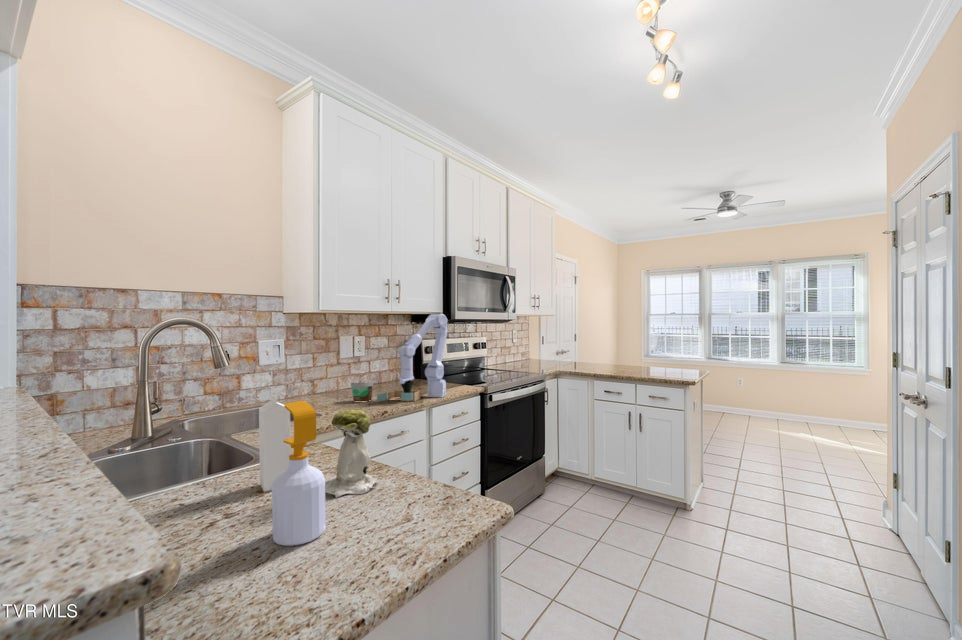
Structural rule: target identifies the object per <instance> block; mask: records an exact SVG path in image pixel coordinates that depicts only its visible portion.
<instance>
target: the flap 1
mask: <svg viewBox="0 0 962 640" xmlns="http://www.w3.org/2000/svg"><path fill="white" fill-rule="evenodd" d="M386 400H387V401H388V392H383V393H377V394H376V402H382V401H386Z"/></svg>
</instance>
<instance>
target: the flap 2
mask: <svg viewBox="0 0 962 640" xmlns="http://www.w3.org/2000/svg"><path fill="white" fill-rule="evenodd" d="M401 400H413V393H401Z"/></svg>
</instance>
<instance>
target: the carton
mask: <svg viewBox="0 0 962 640" xmlns="http://www.w3.org/2000/svg"><path fill="white" fill-rule="evenodd" d="M401 393H404V390H403V389H401V390H400V389H398V390H397V389H395V390H391V391H389V392H387V401H388V400H389V399H391V398H393V397H400V398H398V399H395V400H401ZM411 393H413V400H401V401H400V402H416V401H419V400H420V399H421V390H411Z"/></svg>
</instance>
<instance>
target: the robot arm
mask: <svg viewBox="0 0 962 640" xmlns="http://www.w3.org/2000/svg"><path fill="white" fill-rule="evenodd" d="M431 329H433V330H435V331H436V335H435V341H434V344H433V345H434V346H433V351H432V355H431V360H430V361H429V362H428V363H427V366H426V368H425V369H424V375H425V377H426V380H427V394H426V395H425V396H424V397H425V398H444V397H445V396H447V385H446V384H447V382H446V379H443V377H444V374H445V371H444V364H443V363H442V361H443V360H442V359H443V356H444V350H445V345H446V341H447V336H448V318H447V316H446V315H445V314H443V313H440V314H438V313H436V314H433V313H432V314H431V313H430V314H429V315H428V316H427V318H426V319H425V322H424V323H423V324H422V325H421V327H420V328H419V330H418V331H417V333H416V334H415V333H414V334H411V335H410V337H409V339H408V340H407V341H406V342H405V343H404V345H401V346H400V348H399V350H398V355H399V356H400V365H401V366H400V371H401V373H400V374H401V375H400V376H401V377H399V378H398V379H399V384H400V386H401V388H402V390H404V393H411V391H412V388H413V385H414V382H415V376H414V372H413V371H414V370H413V369H414V367H413V364H414V363H413V360H414V359H413V358H414V357H413V356H415V354H416V350H417V348H418V347H419V345H421V344H422V341H423V337H424V336H425V335H426V334H427V333H428V332H429V331H430V330H431Z"/></svg>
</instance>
